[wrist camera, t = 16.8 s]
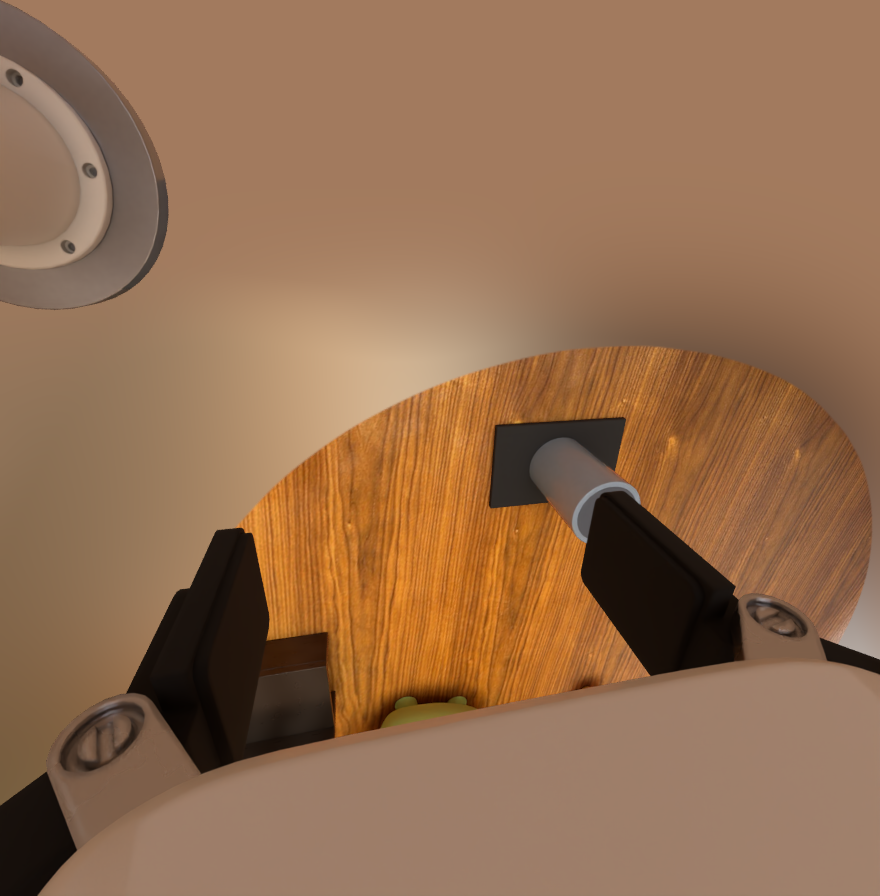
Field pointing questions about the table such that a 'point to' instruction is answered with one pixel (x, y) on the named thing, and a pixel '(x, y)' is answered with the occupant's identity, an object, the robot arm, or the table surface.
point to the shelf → (292, 696)
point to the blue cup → (574, 481)
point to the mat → (524, 441)
